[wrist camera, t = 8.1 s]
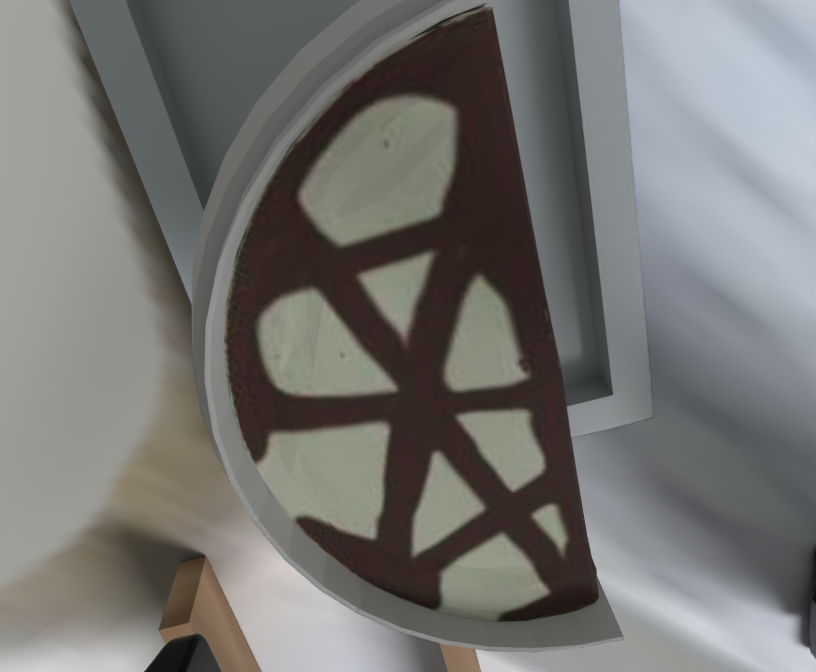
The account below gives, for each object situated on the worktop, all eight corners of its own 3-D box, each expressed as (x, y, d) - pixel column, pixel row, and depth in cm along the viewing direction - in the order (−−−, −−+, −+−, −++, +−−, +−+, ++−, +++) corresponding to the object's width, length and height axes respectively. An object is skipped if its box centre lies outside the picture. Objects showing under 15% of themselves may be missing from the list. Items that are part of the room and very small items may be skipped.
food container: (179, 50, 17) (-14, 73, 8) (417, -18, 17) (508, -78, 7) (326, 446, 22) (315, 739, 13) (508, 397, 22) (627, 659, 13)
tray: (568, -246, 15) (595, -279, 14) (631, 389, 23) (653, 417, 21) (51, -111, 16) (17, -127, 14) (279, 476, 23) (274, 511, 21)
